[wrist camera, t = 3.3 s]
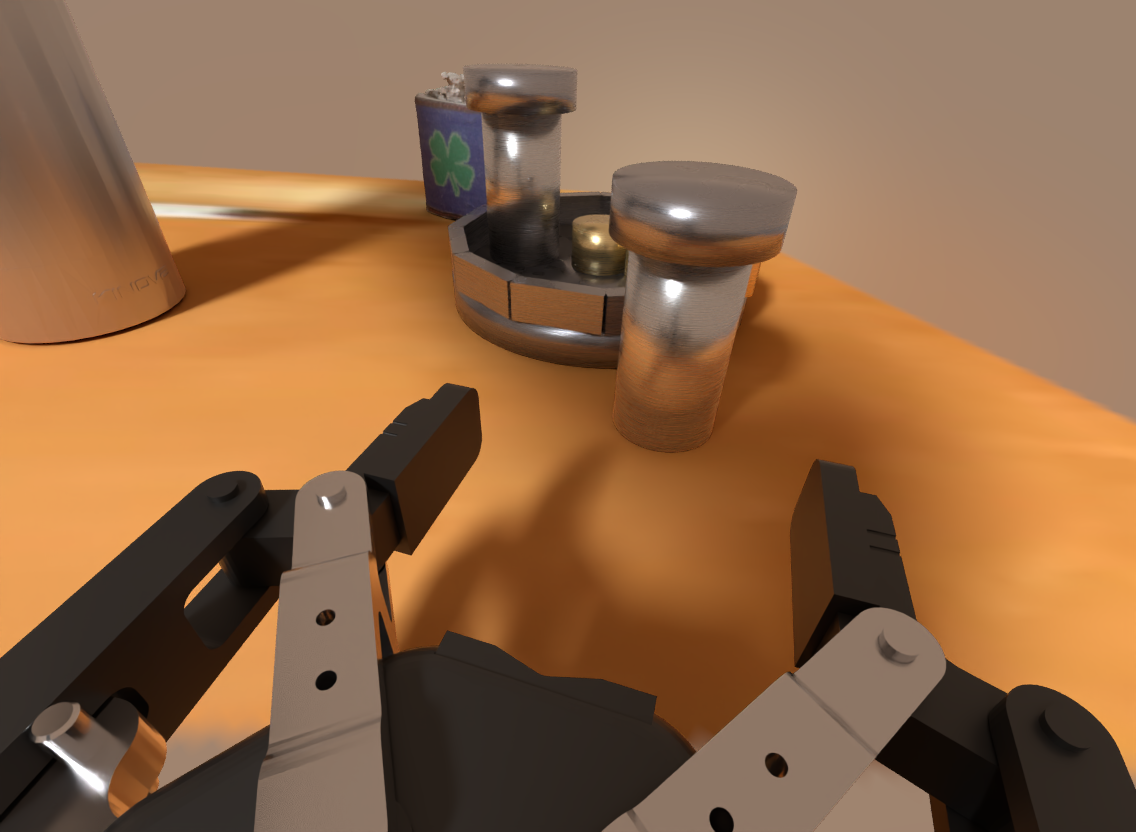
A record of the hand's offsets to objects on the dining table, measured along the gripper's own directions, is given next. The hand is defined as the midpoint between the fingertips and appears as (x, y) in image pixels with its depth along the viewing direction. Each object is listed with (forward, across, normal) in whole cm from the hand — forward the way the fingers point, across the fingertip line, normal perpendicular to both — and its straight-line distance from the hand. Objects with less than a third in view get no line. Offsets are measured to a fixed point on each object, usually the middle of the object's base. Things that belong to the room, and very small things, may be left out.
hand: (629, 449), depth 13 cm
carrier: (+22, +6, +6) cm, 23 cm away
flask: (+34, +21, +6) cm, 40 cm away
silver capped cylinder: (+10, 0, +6) cm, 11 cm away
